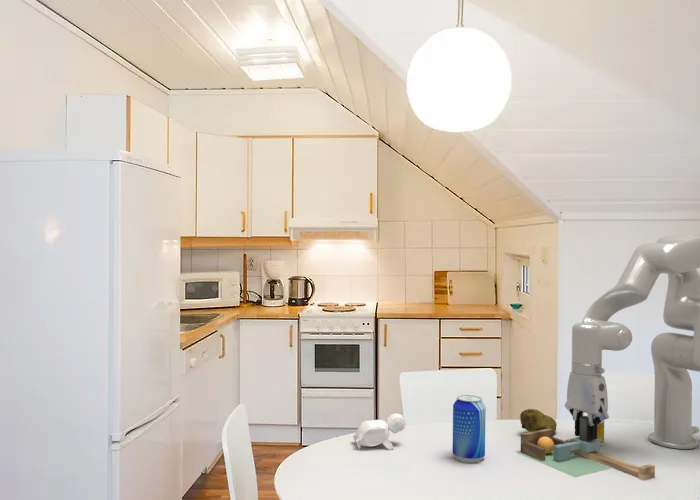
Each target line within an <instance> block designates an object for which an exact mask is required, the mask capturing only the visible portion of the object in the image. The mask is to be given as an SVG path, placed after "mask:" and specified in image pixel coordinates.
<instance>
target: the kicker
mask: <svg viewBox="0 0 700 500" xmlns="http://www.w3.org/2000/svg"><path fill="white" fill-rule="evenodd" d="M587 425H589V418H588V416H586V415H583V416H580V427H579V436H575V437H571V439H572V442H570V443H564V444H559V445H554V446H553V459H554V460H556V461H558V462H559V461H563V460H568V459H571V451H573V450H577V449H578V450H580V451H583V452H586V453H589V452H594V451H598V452H599V451H600V450H601V445H600V441H598V440H590V441H589V440H587Z"/></svg>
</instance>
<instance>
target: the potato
mask: <svg viewBox="0 0 700 500" xmlns="http://www.w3.org/2000/svg"><path fill="white" fill-rule="evenodd" d="M519 417H520V424H521V428H522V429H524V430H526V431H527V432H533V431H539V430H544V429H549V428H550V429H553V434H554V433H555V432H556V430H557V426H558V425H557V421H556V420H555V419H554V418H553V417H551V416H548V415H546V414H544V413H543V412H542V411H540V410H538V409H535V408H526V409H524V410H523V411H521V413H520V415H519Z"/></svg>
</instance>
